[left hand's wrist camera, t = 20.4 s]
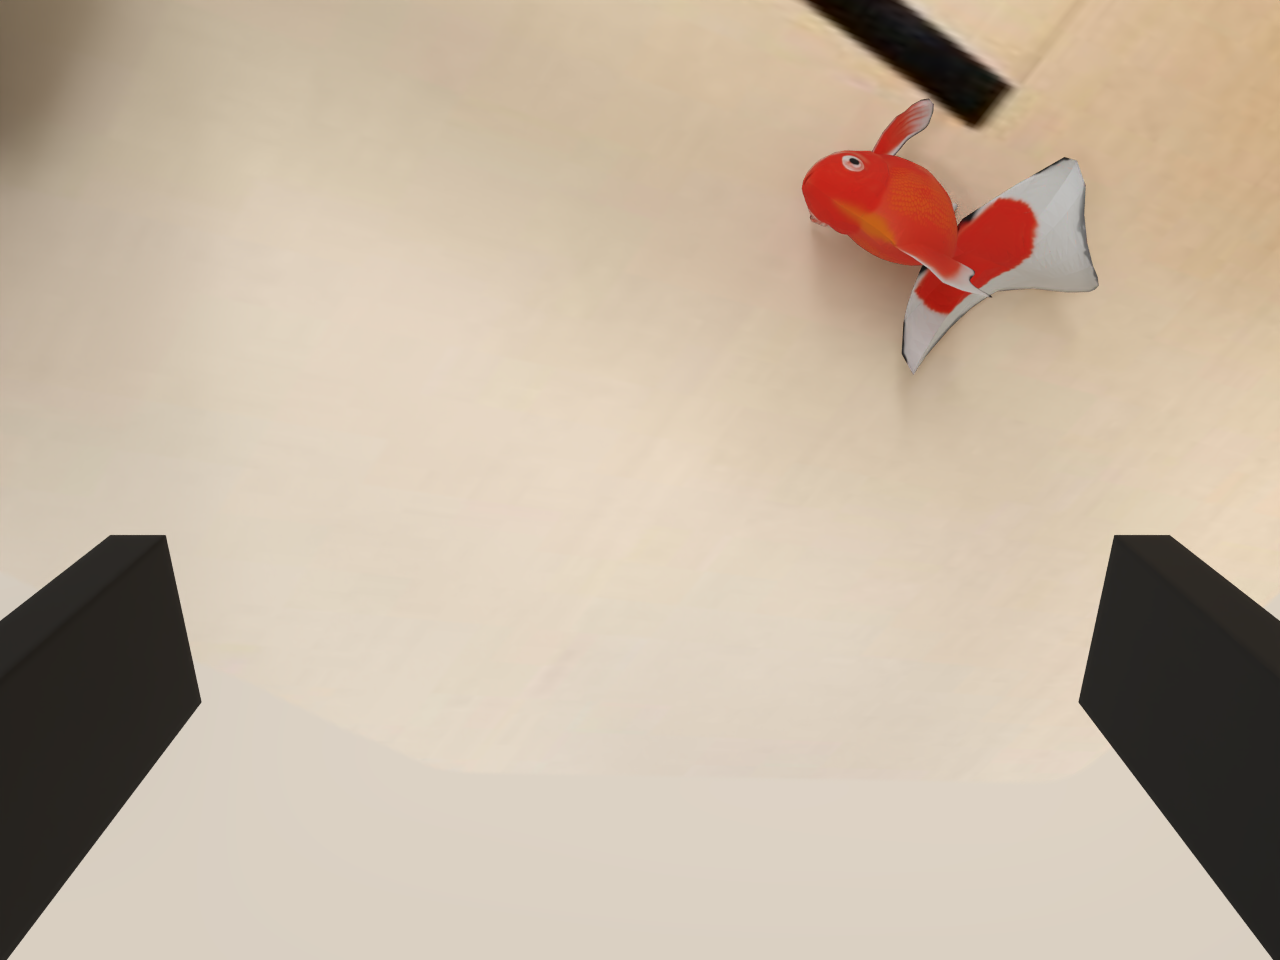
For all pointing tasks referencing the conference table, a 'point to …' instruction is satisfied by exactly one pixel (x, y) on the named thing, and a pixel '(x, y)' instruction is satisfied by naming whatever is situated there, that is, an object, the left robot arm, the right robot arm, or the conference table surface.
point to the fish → (952, 229)
